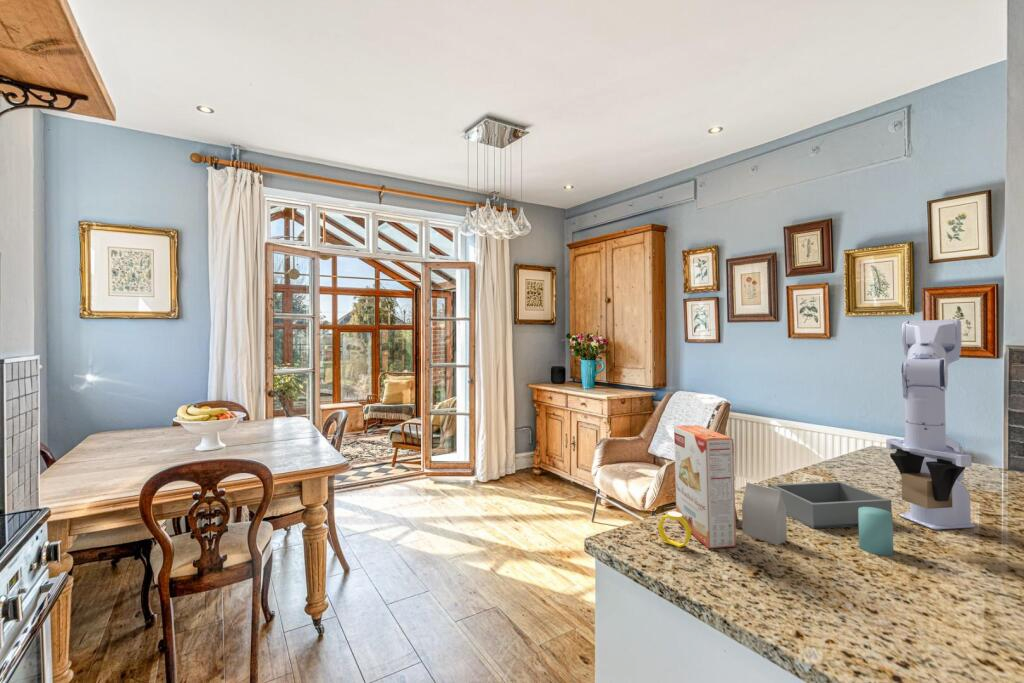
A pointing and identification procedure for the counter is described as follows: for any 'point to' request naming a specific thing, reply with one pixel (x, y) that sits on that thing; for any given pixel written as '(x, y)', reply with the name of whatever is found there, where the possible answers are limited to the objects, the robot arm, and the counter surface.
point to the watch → (679, 517)
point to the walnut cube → (921, 491)
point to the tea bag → (764, 514)
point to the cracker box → (706, 484)
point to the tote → (828, 503)
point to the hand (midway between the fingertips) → (926, 495)
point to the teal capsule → (875, 530)
